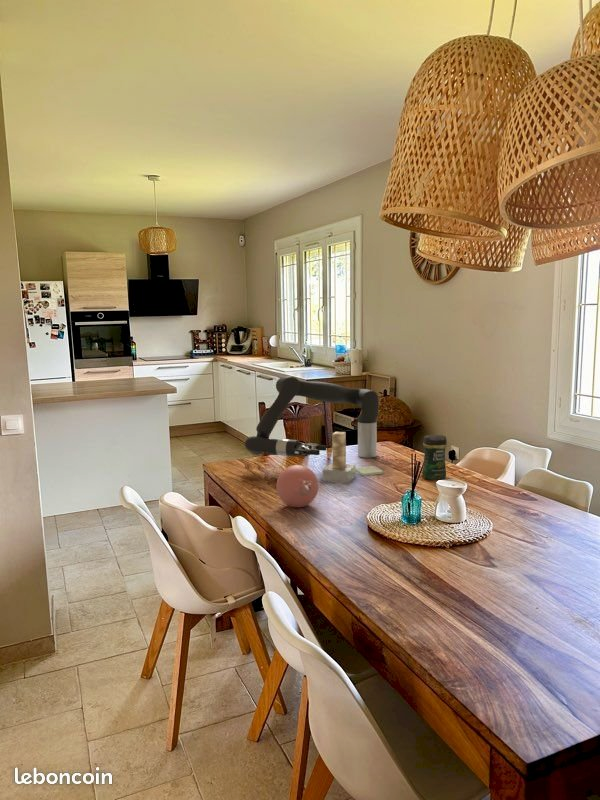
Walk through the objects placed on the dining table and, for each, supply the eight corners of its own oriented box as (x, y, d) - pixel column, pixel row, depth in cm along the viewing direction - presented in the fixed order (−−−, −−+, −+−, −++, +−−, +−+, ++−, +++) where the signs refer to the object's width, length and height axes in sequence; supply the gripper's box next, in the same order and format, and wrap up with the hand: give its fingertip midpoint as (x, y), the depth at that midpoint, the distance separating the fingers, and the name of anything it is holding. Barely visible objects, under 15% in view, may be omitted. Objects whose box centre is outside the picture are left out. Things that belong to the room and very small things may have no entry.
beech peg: (332, 479, 243) (332, 433, 240) (336, 476, 247) (335, 431, 244) (342, 480, 241) (342, 434, 238) (346, 477, 245) (345, 432, 242)
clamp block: (323, 480, 241) (322, 469, 240) (331, 474, 251) (331, 463, 250) (347, 483, 237) (347, 471, 236) (355, 476, 247) (355, 465, 246)
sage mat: (353, 470, 257) (353, 468, 256) (373, 468, 260) (373, 465, 259) (362, 475, 247) (362, 473, 247) (383, 473, 250) (383, 471, 250)
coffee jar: (427, 481, 238) (428, 437, 235) (419, 476, 245) (420, 434, 243) (449, 479, 239) (449, 436, 237) (440, 474, 247) (441, 432, 244)
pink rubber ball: (285, 519, 195) (284, 476, 193) (272, 501, 215) (271, 462, 212) (327, 514, 199) (327, 472, 197) (311, 497, 218) (311, 459, 216)
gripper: (281, 443, 244) (316, 445, 238) (294, 436, 257) (328, 438, 251) (282, 460, 245) (317, 462, 239) (294, 452, 258) (328, 454, 252)
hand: (322, 450), depth 245 cm, fingers open, 8 cm apart
